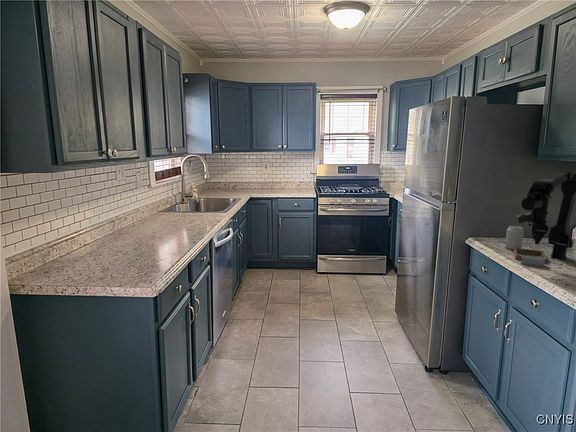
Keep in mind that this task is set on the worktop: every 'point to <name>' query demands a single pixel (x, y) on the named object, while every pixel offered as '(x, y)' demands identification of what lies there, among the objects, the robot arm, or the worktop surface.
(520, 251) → the walnut box
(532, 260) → the dark gray box
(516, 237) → the can
